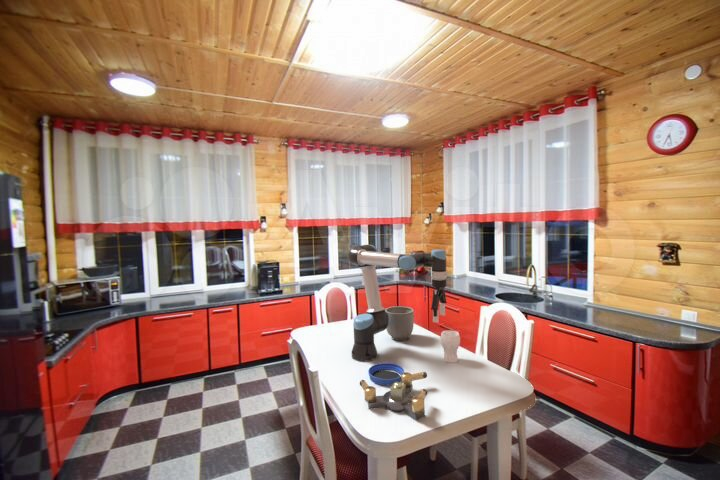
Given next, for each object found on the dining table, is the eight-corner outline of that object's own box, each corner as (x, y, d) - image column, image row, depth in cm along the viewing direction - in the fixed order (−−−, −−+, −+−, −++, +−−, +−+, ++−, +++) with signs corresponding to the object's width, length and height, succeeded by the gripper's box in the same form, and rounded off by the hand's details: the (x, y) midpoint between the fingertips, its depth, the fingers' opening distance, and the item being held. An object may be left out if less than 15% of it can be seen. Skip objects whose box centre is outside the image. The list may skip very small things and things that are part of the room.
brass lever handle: (422, 415, 121) (422, 404, 121) (410, 412, 124) (410, 401, 123) (430, 397, 133) (430, 387, 133) (419, 395, 135) (419, 385, 135)
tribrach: (363, 407, 132) (362, 387, 132) (382, 383, 152) (381, 365, 151) (422, 422, 122) (421, 400, 121) (434, 394, 141) (434, 375, 141)
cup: (461, 364, 170) (461, 337, 169) (441, 363, 172) (440, 336, 171) (459, 356, 180) (459, 330, 179) (440, 355, 182) (439, 329, 181)
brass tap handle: (404, 387, 142) (404, 378, 142) (399, 382, 147) (399, 373, 147) (429, 382, 147) (429, 372, 146) (424, 377, 151) (423, 368, 151)
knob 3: (377, 400, 132) (377, 390, 132) (367, 403, 131) (366, 393, 130) (366, 386, 145) (366, 376, 144) (356, 388, 143) (356, 378, 143)
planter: (419, 335, 215) (418, 308, 214) (407, 345, 198) (406, 315, 197) (393, 331, 225) (392, 304, 224) (379, 340, 209) (379, 311, 208)
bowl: (395, 390, 146) (394, 382, 146) (361, 381, 156) (361, 373, 155) (410, 374, 161) (410, 367, 161) (379, 366, 171) (379, 360, 171)
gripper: (439, 283, 153) (440, 326, 155) (451, 275, 175) (451, 313, 176) (424, 282, 157) (425, 324, 158) (438, 274, 179) (438, 311, 180)
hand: (439, 318), depth 167 cm, fingers open, 13 cm apart
